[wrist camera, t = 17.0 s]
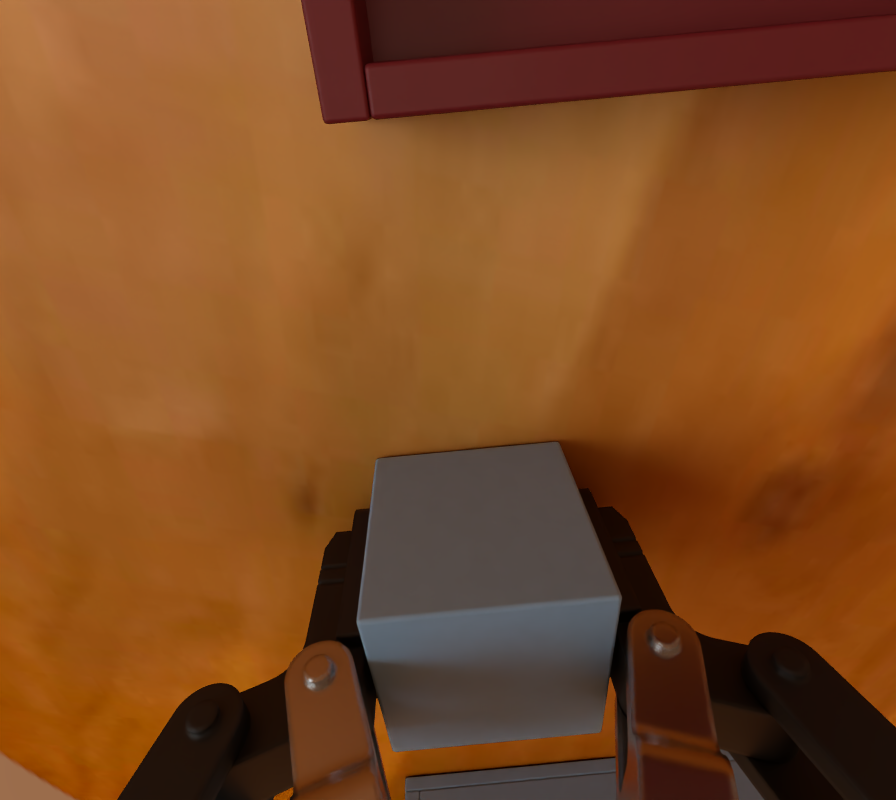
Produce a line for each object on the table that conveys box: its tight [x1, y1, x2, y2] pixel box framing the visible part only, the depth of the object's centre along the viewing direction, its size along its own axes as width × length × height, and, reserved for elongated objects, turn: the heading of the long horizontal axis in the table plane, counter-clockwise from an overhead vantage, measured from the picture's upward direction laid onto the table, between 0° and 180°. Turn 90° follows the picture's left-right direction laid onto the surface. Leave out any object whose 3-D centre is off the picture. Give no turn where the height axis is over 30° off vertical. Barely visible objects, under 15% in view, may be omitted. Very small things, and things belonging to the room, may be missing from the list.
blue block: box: [356, 442, 622, 752], centre depth 11 cm, size 4×4×4 cm
